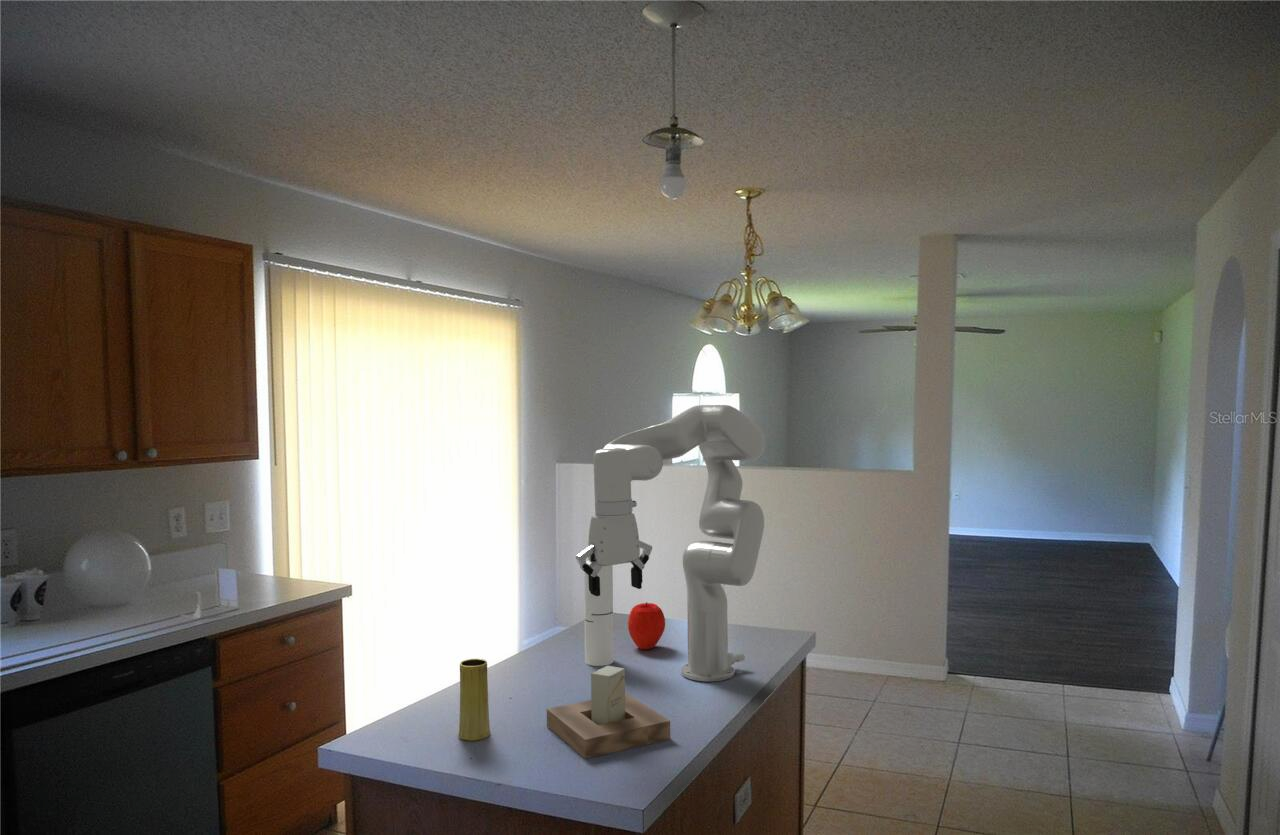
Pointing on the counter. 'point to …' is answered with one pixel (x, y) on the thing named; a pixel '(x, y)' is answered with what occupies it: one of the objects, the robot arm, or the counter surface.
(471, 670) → the vase
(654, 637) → the apple
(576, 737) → the docking block
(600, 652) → the cylindrical container
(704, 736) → the counter surface
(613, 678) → the skincare box
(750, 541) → the robot arm
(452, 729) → the counter surface
